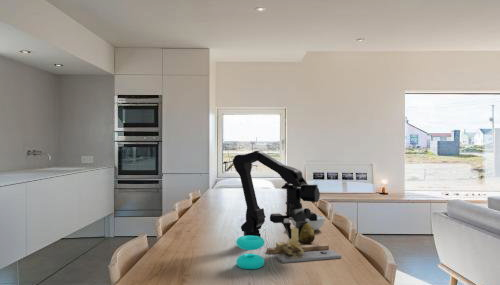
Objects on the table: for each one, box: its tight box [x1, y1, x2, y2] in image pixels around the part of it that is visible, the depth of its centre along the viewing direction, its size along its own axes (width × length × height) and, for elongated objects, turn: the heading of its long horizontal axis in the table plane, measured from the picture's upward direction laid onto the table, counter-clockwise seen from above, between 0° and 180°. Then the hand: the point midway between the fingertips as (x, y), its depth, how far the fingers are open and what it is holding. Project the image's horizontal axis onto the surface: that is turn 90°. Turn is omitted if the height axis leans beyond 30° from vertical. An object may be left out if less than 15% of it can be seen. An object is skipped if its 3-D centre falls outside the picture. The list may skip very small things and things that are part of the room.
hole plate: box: [274, 249, 342, 264], centre depth 146 cm, size 24×8×1 cm, turn 105°
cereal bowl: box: [290, 214, 325, 232], centre depth 193 cm, size 17×17×7 cm
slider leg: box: [286, 226, 305, 254], centre depth 151 cm, size 4×12×8 cm, turn 15°
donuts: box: [235, 235, 265, 270], centre depth 136 cm, size 10×10×10 cm
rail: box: [266, 241, 330, 255], centre depth 152 cm, size 26×12×3 cm, turn 105°
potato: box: [298, 223, 316, 244], centre depth 171 cm, size 8×13×8 cm, turn 172°
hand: (293, 238), depth 155 cm, fingers closed on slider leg, 3 cm apart
